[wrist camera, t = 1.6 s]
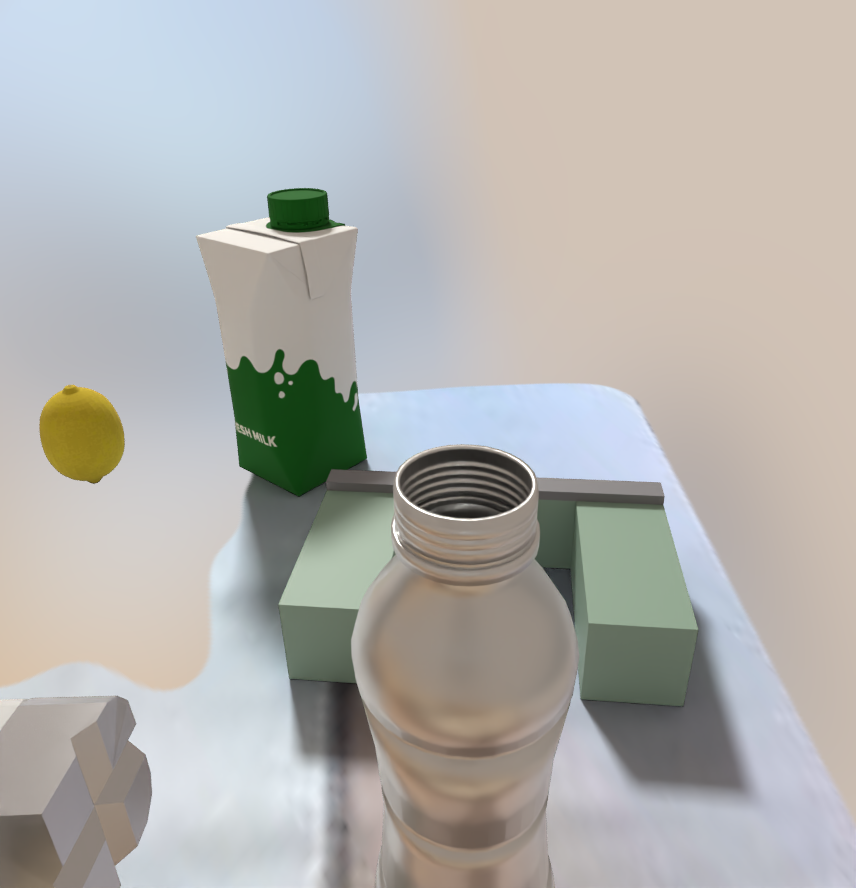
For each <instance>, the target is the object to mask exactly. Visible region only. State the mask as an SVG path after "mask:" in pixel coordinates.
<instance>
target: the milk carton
mask: <svg viewBox="0 0 856 888" xmlns="http://www.w3.org/2000/svg"><path fill="white" fill-rule="evenodd" d="M267 199H268V208H269V217H268V218H264V219H259V220H255V221H251V222H246V223H242V224H241V223H237V224H233V225H229V226H227V227H226V229H223V230H218V231H214V232H210V233H206V234H202V235H197V236H196V238H197V241H198V244H199V248H200V251H201V254H202V257H203V260H204V263H205V267H206V270H207V273H208V277H209V280H210V283H211V287H212V290H213V294H214V297H215V301H216V305H217V311H218V317H219V323H220V329H221V336H222V341H223V348H224V354H225V360H226V366H227V372H228V379H229V385H230V391H231V397H232V403H233V410H234V417H235V426H236V436H237V446H238V456H239V466H240V467H242V468H244V469H246V470H248V471H250V472H252V473H254V474H256V475H257V476H259V477H261V478H263V479H265V480H267V481H269V482H271V483H273V484H275V485H277V486H279V487H281V488H283V489H285V490H287V491H289V492H291V493H293V494H295V495H297V496H301V495H302V494H304V493H306V492H308V491H310V490H311V489H313V488H315V487H317V486H319V485H320V484H322V483H324V482H326V481H327V478H328V476H329V474H330V471H331V469H335V470H347V469H349V468H351V467H352V466H354V465H356V464H358V463H360V462H361V461H363V460H365V459H367V455H366V448H365V441H364V435H363V428H362V421H361V414H360V407H359V400H358V387H357V374H356V361H355V348H354V333H353V318H352V303H351V283H352V274H353V266H354V258H355V249H356V241H357V233H358V229H357V228H356V227H350V226H345V224H342V223H336V222H334V221H332V220H329V209H328V198H327V192H326V191H324V190H320V189H312V188H296V189H285V190H279V191H275V192H272V193H270V194H268V196H267Z"/></svg>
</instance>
